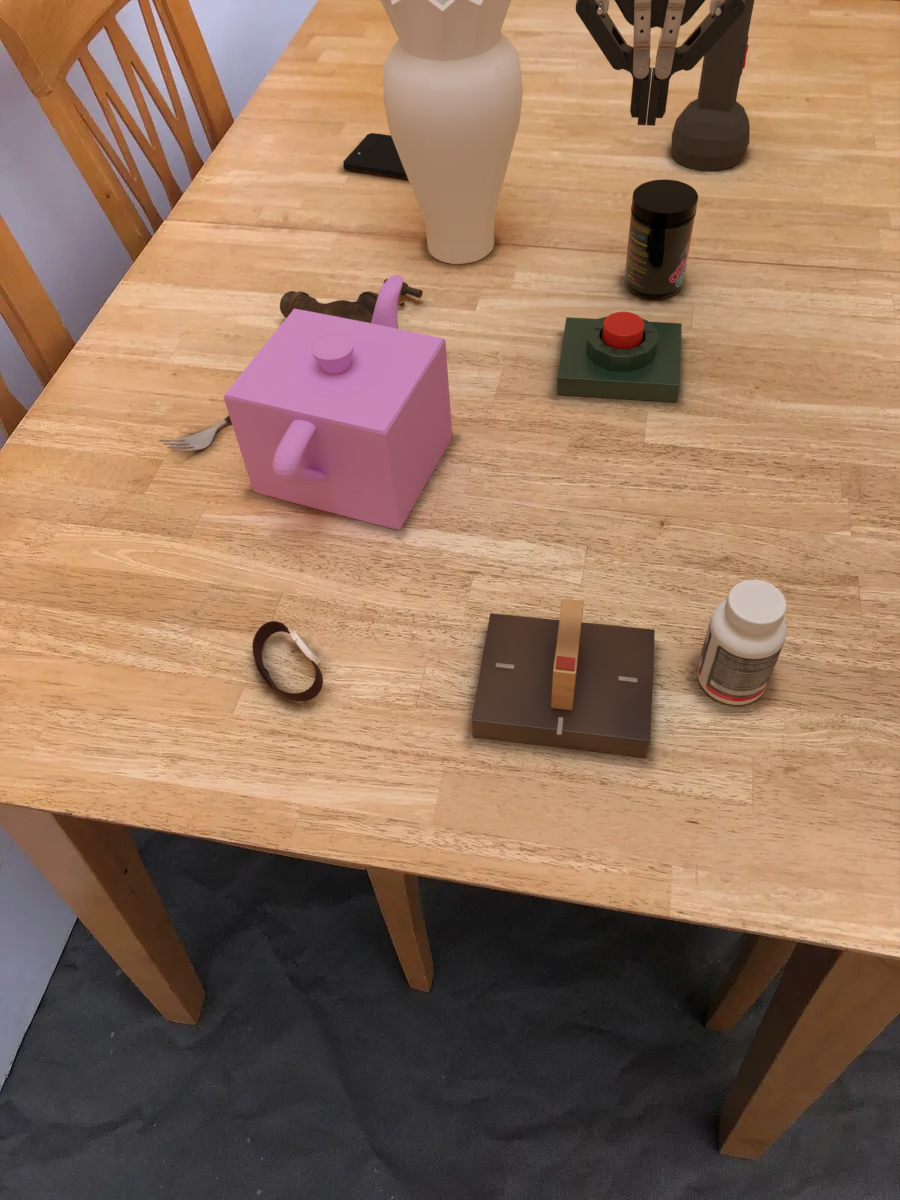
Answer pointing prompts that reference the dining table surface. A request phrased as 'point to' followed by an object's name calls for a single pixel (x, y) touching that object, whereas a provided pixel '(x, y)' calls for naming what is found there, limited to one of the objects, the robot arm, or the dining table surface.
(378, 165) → the cell phone
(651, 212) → the supplement container
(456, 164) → the vase
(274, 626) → the watch
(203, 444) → the fork
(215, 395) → the dining table surface
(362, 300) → the faucet
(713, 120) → the flashlight
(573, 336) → the switch box
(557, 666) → the handle
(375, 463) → the teapot
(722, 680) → the pill bottle
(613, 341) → the button
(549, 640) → the panel
